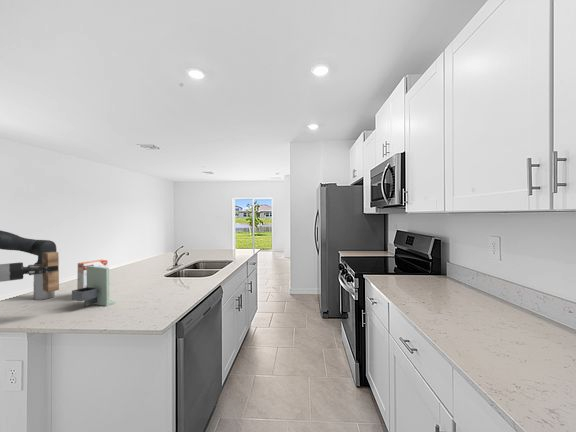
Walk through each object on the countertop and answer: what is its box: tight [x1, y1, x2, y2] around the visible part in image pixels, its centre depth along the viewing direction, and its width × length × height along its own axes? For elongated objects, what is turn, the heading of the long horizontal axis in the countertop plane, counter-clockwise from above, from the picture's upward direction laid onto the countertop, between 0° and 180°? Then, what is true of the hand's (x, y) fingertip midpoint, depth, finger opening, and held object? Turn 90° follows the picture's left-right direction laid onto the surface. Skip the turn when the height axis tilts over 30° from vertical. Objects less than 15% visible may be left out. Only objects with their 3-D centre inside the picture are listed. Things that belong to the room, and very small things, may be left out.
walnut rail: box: [42, 251, 60, 292], centre depth 138 cm, size 4×4×18 cm
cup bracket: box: [71, 266, 117, 307], centre depth 155 cm, size 16×15×20 cm
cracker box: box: [76, 259, 108, 290], centre depth 170 cm, size 14×6×21 cm, turn 156°
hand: (57, 267), depth 140 cm, fingers closed on walnut rail, 5 cm apart
